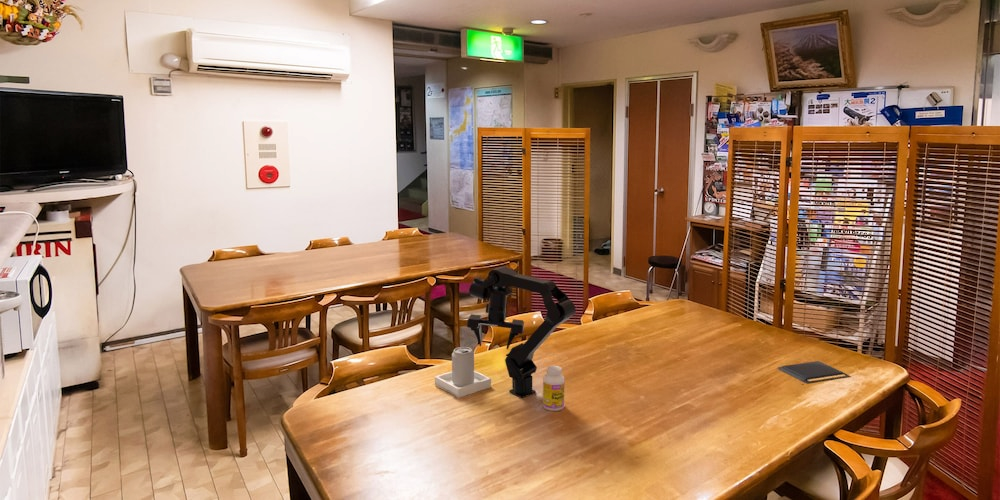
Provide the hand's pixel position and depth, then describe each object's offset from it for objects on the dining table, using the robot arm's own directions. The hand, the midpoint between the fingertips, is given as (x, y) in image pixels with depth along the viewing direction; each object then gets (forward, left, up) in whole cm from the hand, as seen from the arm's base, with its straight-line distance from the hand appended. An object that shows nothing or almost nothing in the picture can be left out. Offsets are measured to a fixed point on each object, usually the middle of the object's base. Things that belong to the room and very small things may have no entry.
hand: (493, 347), depth 208 cm
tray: (+5, +9, -13) cm, 17 cm away
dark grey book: (-66, -94, -14) cm, 115 cm away
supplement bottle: (-26, -3, -13) cm, 29 cm away
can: (+5, +9, -12) cm, 16 cm away
